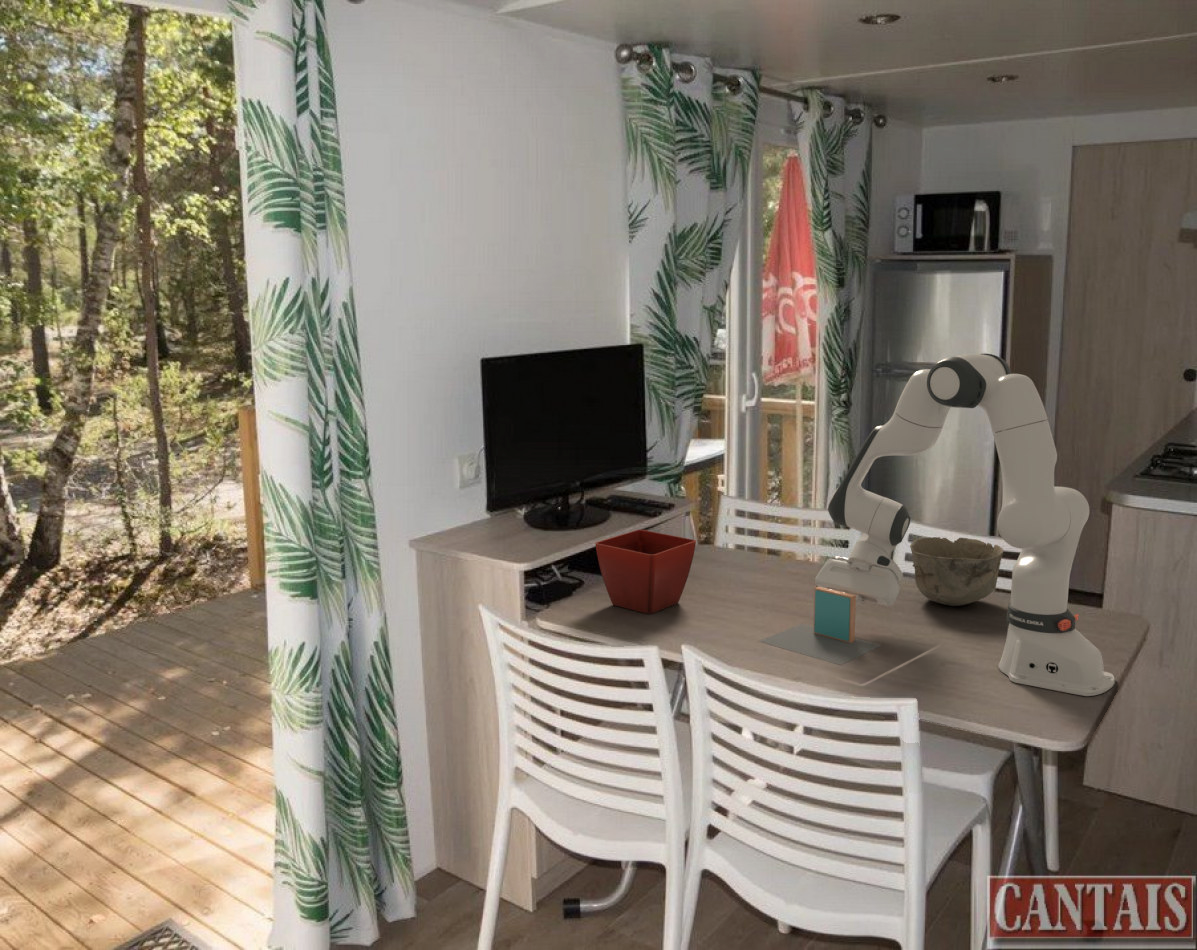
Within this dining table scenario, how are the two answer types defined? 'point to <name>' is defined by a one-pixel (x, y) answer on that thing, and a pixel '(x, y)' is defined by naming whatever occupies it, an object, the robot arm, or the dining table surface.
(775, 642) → the mat
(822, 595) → the tile
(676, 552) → the plant pot
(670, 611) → the dining table surface
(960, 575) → the bowl
